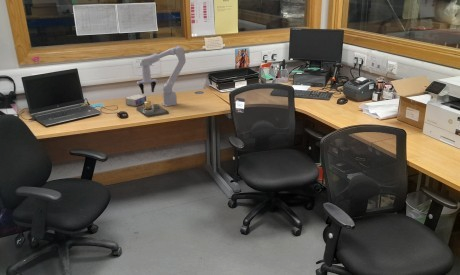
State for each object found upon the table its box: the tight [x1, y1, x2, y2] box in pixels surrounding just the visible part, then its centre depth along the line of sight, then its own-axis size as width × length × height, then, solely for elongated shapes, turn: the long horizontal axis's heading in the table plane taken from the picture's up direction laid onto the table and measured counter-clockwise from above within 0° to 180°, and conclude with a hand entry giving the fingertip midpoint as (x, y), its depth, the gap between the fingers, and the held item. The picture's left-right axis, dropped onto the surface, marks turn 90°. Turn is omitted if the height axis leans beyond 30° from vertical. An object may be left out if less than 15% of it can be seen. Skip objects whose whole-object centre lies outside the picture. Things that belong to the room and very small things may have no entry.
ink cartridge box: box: [125, 93, 147, 107], centre depth 298 cm, size 10×6×14 cm
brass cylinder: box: [144, 100, 152, 110], centre depth 275 cm, size 4×4×7 cm
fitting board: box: [135, 103, 170, 118], centre depth 280 cm, size 16×20×4 cm
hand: (147, 92), depth 292 cm, fingers open, 7 cm apart
